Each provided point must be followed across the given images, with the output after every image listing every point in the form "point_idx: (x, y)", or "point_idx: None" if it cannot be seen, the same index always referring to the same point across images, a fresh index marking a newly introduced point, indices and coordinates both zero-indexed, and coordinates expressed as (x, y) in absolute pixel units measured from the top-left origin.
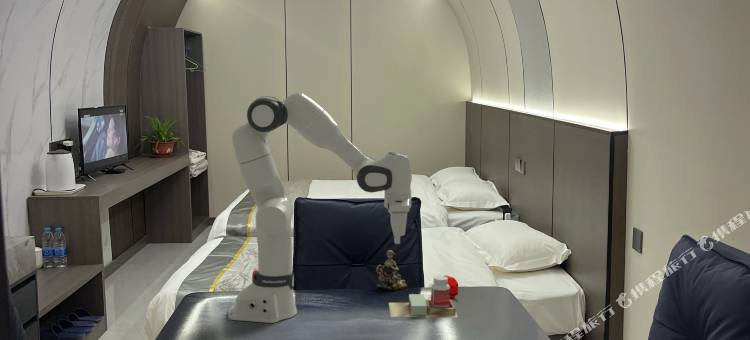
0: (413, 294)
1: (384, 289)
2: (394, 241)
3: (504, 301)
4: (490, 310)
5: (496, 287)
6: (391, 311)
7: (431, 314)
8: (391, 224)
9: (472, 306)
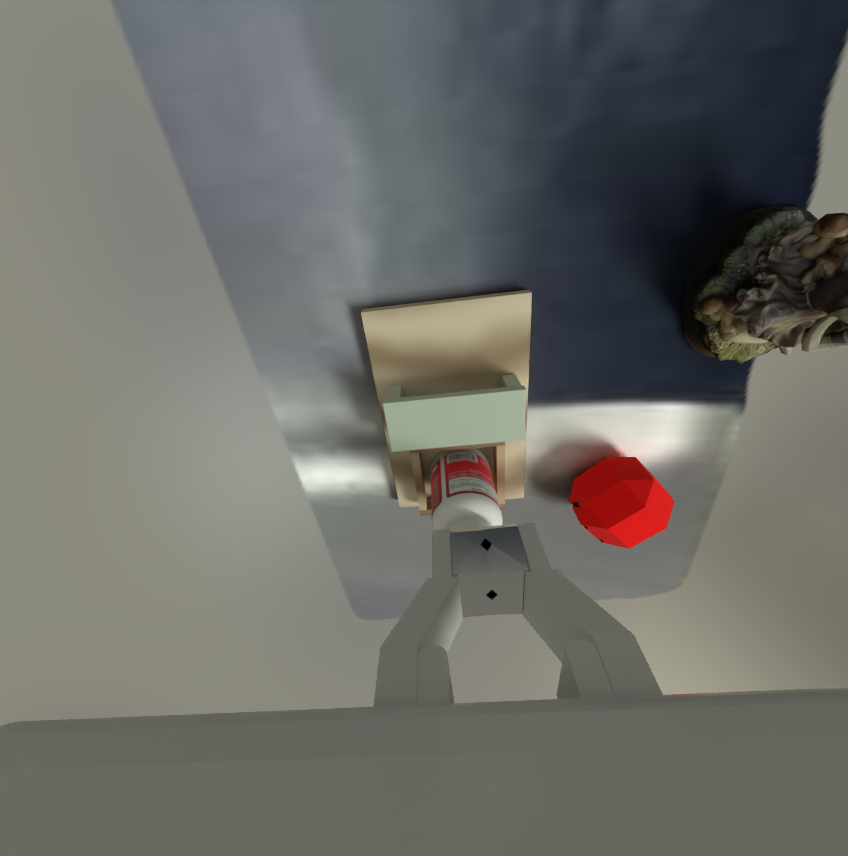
0: (522, 406)
1: (723, 257)
2: (446, 542)
3: None
4: None
5: (675, 586)
6: (422, 312)
7: None
8: (688, 778)
9: None
